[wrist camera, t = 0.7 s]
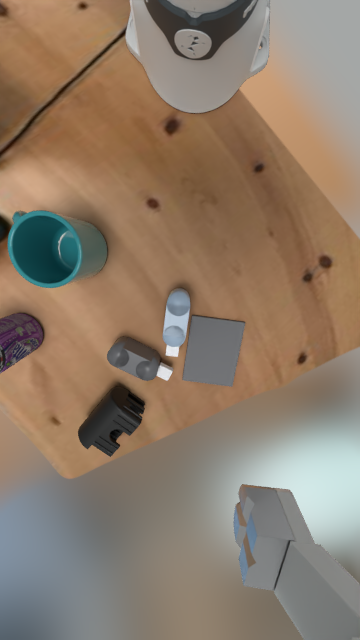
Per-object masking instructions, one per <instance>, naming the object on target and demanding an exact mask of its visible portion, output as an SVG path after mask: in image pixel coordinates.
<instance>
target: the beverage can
mask: <svg viewBox="0 0 360 640" xmlns="http://www.w3.org/2000/svg"><path fill="white" fill-rule="evenodd" d="M42 340H43V332H42V329H41V327H40V325H39V323H38V322H37V321H36V320H35V319H34V318H32V317H31V316H29V315H26V314H22V313H16V314H12V315H9V316H7V317H4V318H2V319H0V373H2V372H3V371H5V370H6V369H8V368H9V367H11V366H12V365H14V364H15V363H17V362H18V361H20V360H21V359H23V358H24V357H26V356H27V355H29V354H30V353H31V352H33V351H34V350H36V349H37V348H38V347H39V346H40V345H41V343H42Z"/></svg>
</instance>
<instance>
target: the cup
mask: <svg viewBox="0 0 360 640" xmlns="http://www.w3.org/2000/svg"><path fill="white" fill-rule="evenodd" d="M12 219H13V222H14V224H13V226H12V228H11V230H10V233H9V236H8V252H9V256H10V259H11V261H12V264H13V265H14V267H15V269H16V270H17V271H18V273H19V274H20V275H21V276H22V277H23V278H25V279H26V280H27V281H29V282H30V283H32V284H34V285H37V286H40V287H44V288H56V287H60V286H64V285H67V284H70V283H73V282H77V281H80V280H83V279H86V278H89V277H92V276H94V275H96V274H97V273H98V272H99V271H100V270H101V269H102V268H103V266H104V264H105V262H106V259H107V245H106V242H105V239H104V237H103V235H102V234H101V232H100V231H99V230H98V229H97V228H96V227H95V226H93V225H92V224H90V223H88V222H86V221H83V220H79V219H76V218H72V217H68V216H64V215H61V214H57V213H53V212H49V211H41V210H39V211H32V212H29V213H26V212H23V211H16V212H15V213H14V214H13V217H12Z"/></svg>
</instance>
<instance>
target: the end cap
mask: <svg viewBox="0 0 360 640" xmlns="http://www.w3.org/2000/svg"><path fill="white" fill-rule="evenodd" d="M144 405H145V403H144V402H143V401H142V400H141V399H139V398H138V397H137V396H135V395H134V394H132V393H131V392H130V391H128V390H127V389H125V388H122V387H114V388H113V389H111V391H110V392H109V393H108V394H107V395H106V396H105V398H104V399H103V400H102V401H101V402H100V404H99V405H98V406H97V407H96V408H95V409H94V411H93V412H92V413H91V414H90V415H89V417H88V418H87V419H86V420H85V421H84V422H83V424H82V425H81V426H80V428H79V431H78V436H79V440H80V442H81V443H82V445H83V446H84V447H85V448H87V449H88V448H89V447H90V446H91V445H93V446H95V447H96V448H98V449H99V450H101V451H102V452H104V453H105V454H107V455H108V456H110V457H111V456H112V455H113V453H114V452H115V451H116V450H117V449H118V448H119V447H120V445H119V444H118V443H117V442H116V440H117V438H118V437H119V436H120V435H121V434H122V433H123V432H125V433H126V434H128V435H129V436H130V435H131V434H132V433H133V432H134V431H135V429H136V428H137V427H138V426H139V425H140V423H141V421H142V417H141V416H140V415H139V414H140V413H141V414H143V413H144V409H145V408H143V407H144Z"/></svg>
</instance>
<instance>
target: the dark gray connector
mask: <svg viewBox="0 0 360 640" xmlns="http://www.w3.org/2000/svg"><path fill="white" fill-rule="evenodd" d="M107 359H108V361H109V363H110V364H111V365H113V366H115V367H117V368H119V369H121V370H123V371H125V372H127V373H129V374H132V375H134V376H136V377H138V378H140V379H142V380H146V381H149V380H152V379H154V378H155V377H156V376H158V377H160V378H163V379H165V380H167V381H168V379H169V377H170V376H171V374H172V372H173V368H172V367H170V366H168V365H166V364H163V363H160V354H159V353H158V352H157V351H156V350H154V349H152V348H150V347H148V346H146V345H144V344H142V343H140V342H138V341H136V340H134V339H131V338H129V337H126V336H123V337H120V338H118V339H117V341H116V342H115V343H114V345H113V346H112V347H111V349H110V350H109V351H108V354H107Z"/></svg>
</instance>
